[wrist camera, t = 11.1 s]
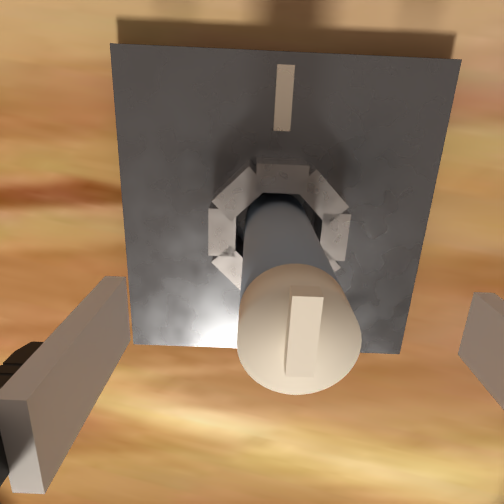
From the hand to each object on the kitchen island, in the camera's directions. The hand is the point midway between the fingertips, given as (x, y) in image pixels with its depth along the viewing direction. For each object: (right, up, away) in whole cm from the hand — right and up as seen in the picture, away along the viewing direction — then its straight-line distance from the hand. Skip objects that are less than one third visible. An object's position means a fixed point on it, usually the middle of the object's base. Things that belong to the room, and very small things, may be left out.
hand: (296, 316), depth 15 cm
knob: (0, +4, +11) cm, 12 cm away
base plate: (0, +5, +12) cm, 13 cm away
